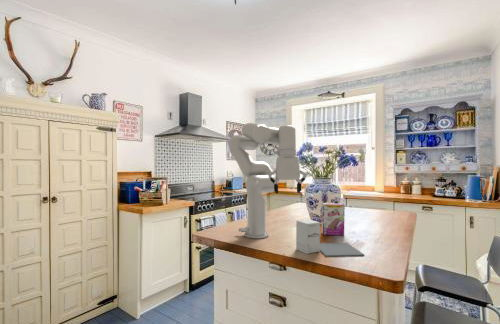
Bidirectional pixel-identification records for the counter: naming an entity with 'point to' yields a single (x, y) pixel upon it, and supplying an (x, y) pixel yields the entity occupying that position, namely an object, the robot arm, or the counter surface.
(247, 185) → the robot arm
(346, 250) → the mat
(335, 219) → the candy bar box
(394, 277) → the counter surface
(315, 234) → the supplement box
